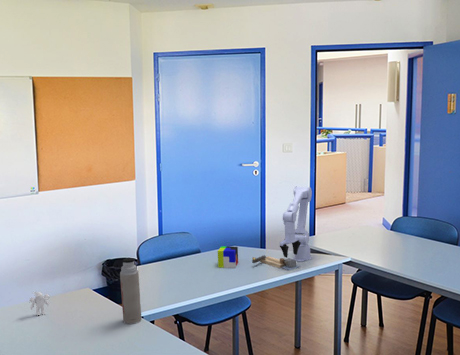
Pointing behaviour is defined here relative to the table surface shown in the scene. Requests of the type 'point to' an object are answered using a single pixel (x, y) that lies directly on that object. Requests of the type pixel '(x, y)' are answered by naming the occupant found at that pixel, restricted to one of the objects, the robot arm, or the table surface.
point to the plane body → (274, 262)
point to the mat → (290, 268)
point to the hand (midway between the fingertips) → (290, 255)
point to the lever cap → (289, 263)
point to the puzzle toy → (227, 257)
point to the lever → (258, 259)
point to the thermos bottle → (130, 292)
